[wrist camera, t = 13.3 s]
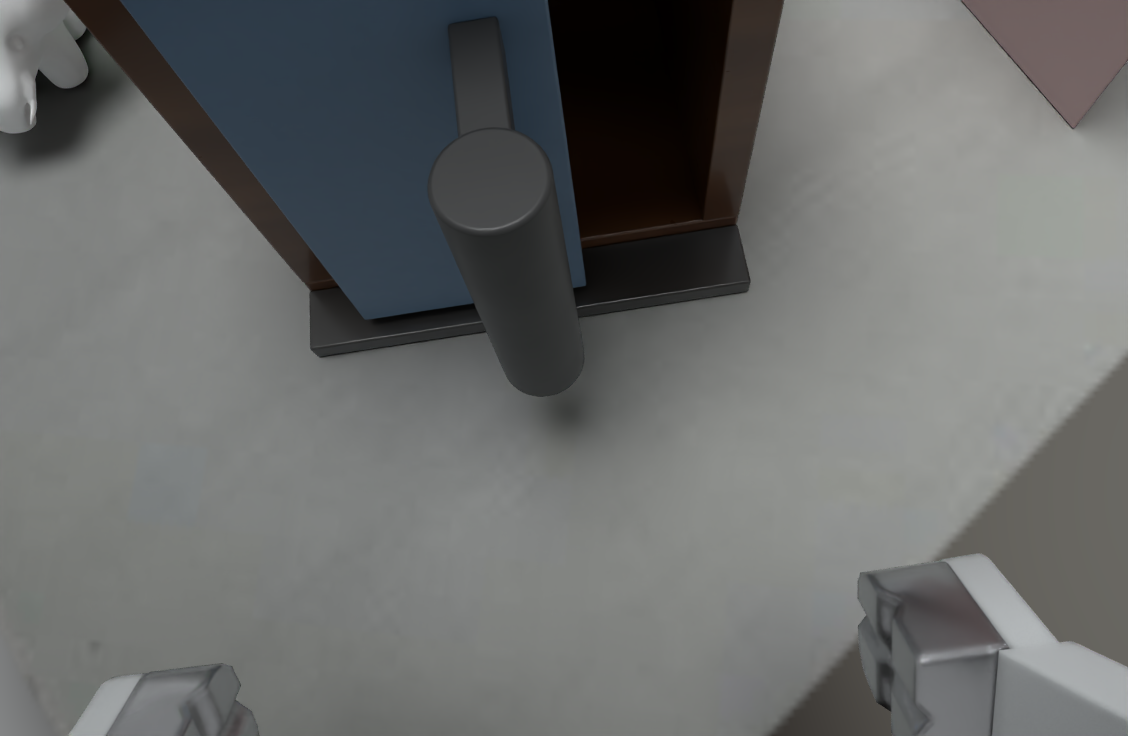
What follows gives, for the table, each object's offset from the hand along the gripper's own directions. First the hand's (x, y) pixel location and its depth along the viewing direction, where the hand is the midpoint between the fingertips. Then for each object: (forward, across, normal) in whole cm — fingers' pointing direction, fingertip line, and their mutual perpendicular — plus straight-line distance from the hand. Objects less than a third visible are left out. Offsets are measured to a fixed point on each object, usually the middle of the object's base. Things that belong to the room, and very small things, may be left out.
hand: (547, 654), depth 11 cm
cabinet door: (+11, +2, 0) cm, 12 cm away
